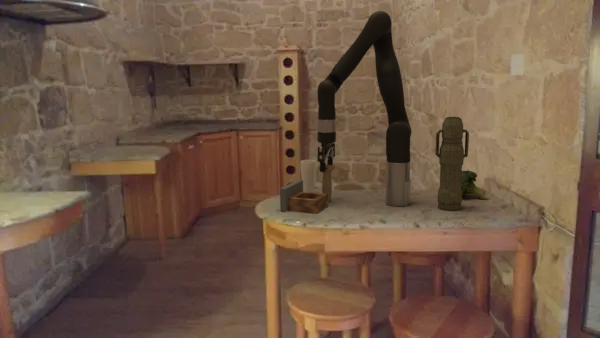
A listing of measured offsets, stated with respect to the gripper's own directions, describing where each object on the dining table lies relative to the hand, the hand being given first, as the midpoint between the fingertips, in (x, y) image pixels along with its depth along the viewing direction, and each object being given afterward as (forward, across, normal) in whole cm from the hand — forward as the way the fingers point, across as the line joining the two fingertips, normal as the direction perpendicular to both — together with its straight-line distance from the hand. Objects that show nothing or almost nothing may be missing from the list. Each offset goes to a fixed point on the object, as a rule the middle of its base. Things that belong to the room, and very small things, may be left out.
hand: (326, 170), depth 195 cm
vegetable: (+13, -27, +54) cm, 61 cm away
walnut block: (+13, +13, -3) cm, 19 cm away
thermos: (+13, -6, +48) cm, 50 cm away
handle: (+13, 0, 0) cm, 13 cm away
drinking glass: (+14, -9, -12) cm, 20 cm away
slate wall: (+13, +12, -10) cm, 21 cm away
